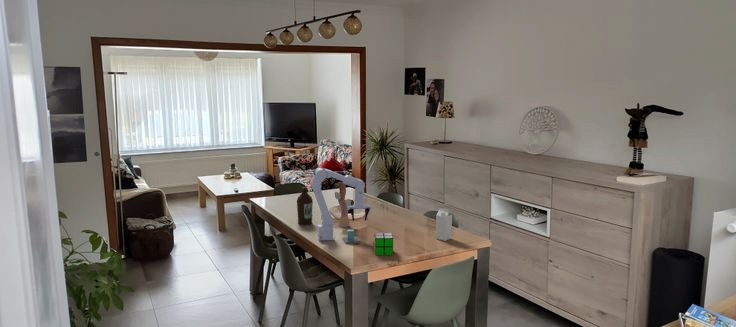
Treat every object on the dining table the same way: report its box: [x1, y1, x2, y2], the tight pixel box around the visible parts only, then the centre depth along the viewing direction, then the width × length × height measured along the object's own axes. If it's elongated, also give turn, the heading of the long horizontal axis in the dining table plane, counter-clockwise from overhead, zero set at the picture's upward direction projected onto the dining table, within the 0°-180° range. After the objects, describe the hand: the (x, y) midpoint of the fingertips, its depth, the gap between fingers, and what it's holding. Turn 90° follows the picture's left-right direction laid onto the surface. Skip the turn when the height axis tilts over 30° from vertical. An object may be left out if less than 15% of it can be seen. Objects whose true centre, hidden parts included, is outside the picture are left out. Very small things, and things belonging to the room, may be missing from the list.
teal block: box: [346, 228, 355, 240], centre depth 318 cm, size 4×4×6 cm
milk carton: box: [435, 207, 453, 242], centre depth 322 cm, size 7×7×19 cm
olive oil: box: [296, 186, 314, 226], centre depth 356 cm, size 11×11×25 cm
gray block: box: [341, 235, 361, 245], centre depth 318 cm, size 9×9×2 cm
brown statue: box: [334, 181, 352, 228], centre depth 350 cm, size 11×7×30 cm
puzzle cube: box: [374, 232, 394, 256], centre depth 297 cm, size 10×10×10 cm
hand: (359, 220), depth 326 cm, fingers open, 7 cm apart
